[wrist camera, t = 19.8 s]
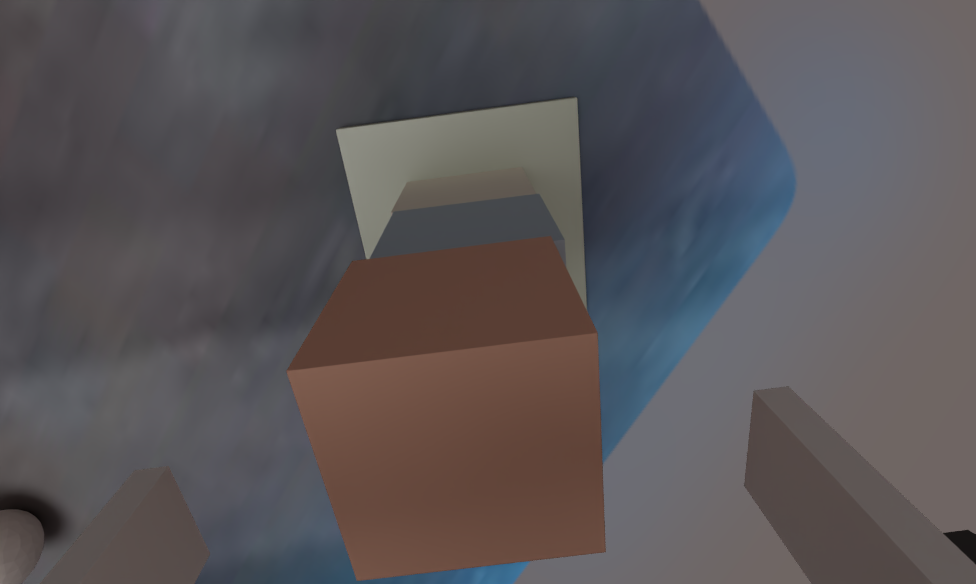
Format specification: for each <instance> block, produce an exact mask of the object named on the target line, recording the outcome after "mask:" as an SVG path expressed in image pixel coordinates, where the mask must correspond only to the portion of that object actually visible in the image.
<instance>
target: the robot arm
mask: <svg viewBox="0 0 976 584" xmlns="http://www.w3.org/2000/svg"><path fill="white" fill-rule="evenodd" d="M744 486H745V488H746V489H747V490H748V492H749V493H750V495H751V496H752V498H753V499H754V500H755V502H756V503H757V505H758V506H759V508H760V509H761V511H762V512H763V514H764V515H765V516H766V518H767V520H768V521H769V522H770V524H771V525H772V527H773V528H774V530H775V531H776V533H777V534H778V535H779V537H780V538H781V540H782V541H783V543H784V544H785V545H786V547H787V549H788V550H789V551H790V553H791V554H792V556H793V557H794V559H795V560H796V562H797V563H798V564H799V566H800V567H801V569H802V570H803V572H804V573H805V575H806V576H807V578H808V579H809V581H810V582H811V583H812V584H976V534H974V533H972V532H970V531H969V530H964V531H956V532H948V533H942V532H941V531H940V530H939V529H938V528H937V527H936V526H935V525H933V524H932V523H931V522H930V521H929V520H928V519H927V518H926V517H925V516H924V515H923V514H922V513H921V512H920V511H919V510H918V509H917V508H915V506H914V505H912V504H911V503H910V502H909V501H908V500H907V499H906V498H905V497H904V496H903V495H902V494H901V493H900V492H899V491H898V490H897V489H896V488H895V487H894V486H893V485H891V484H890V483H889V482H888V481H887V480H886V479H885V478H884V477H883V476H882V475H881V474H880V473H879V472H878V471H877V470H876V469H875V468H874V467H872V466H871V465H870V464H869V463H868V462H867V461H866V460H865V459H864V458H863V457H862V456H861V455H860V454H859V453H858V452H857V451H856V450H855V449H854V448H853V447H851V446H850V445H849V444H848V443H847V442H846V441H845V440H844V439H843V438H842V437H841V436H840V435H839V434H838V433H837V432H836V431H834V429H832V428H831V427H830V426H829V425H828V424H827V423H826V422H825V421H824V420H823V419H822V418H821V417H820V416H819V415H818V414H817V413H816V412H815V411H813V409H812V408H810V407H809V406H808V405H807V404H806V403H805V402H804V401H803V400H802V399H801V398H800V397H799V396H798V395H797V394H796V393H795V392H794V391H793V390H791V389H790V388H789V387H788V386H787V387H780V388H771V389H765V390H756V391H754V394H753V403H752V413H751V423H750V433H749V444H748V453H747V463H746V473H745V483H744ZM209 555H210V552H209V550H208V548H207V546H206V544H205V542H204V540H203V538H202V536H201V534H200V531H199V529H198V527H197V525H196V523H195V521H194V519H193V517H192V515H191V512H190V510H189V508H188V506H187V504H186V502H185V500H184V498H183V496H182V494H181V491H180V489H179V487H178V485H177V483H176V481H175V479H174V477H173V475H172V473H171V470H170V468H169V466H166V467H158V468H150V469H143V470H135V471H134V472H133V473H132V474H131V475H130V477H129V478H128V479H127V480H126V481H125V483H124V484H123V485H122V486H121V487H120V489H119V490H118V491H117V492H116V493H115V495H114V496H113V497H112V498H111V499H110V500H109V502H108V503H107V504H106V505H105V506H104V508H103V509H102V510H101V511H100V512H99V514H98V515H97V516H96V517H95V518H94V520H93V521H92V522H91V523H90V524H89V526H88V527H87V528H86V529H85V530H84V532H83V533H82V534H81V535H80V536H79V537H78V539H77V540H76V541H75V542H74V543H73V545H72V546H71V547H70V548H69V549H68V551H67V552H66V553H65V554H64V555H63V557H62V558H61V559H60V560H59V561H58V563H57V564H56V565H55V566H54V567H53V569H52V570H51V571H50V572H49V573H48V574H47V576H46V577H45V578H44V579H43V580H42V582H41V583H40V584H194V583H195V581H196V579H197V577H198V576H199V574H200V572H201V570H202V568H203V566H204V564H205V562H206V561H207V559H208V557H209Z"/></svg>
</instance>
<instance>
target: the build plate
mask: <svg viewBox="0 0 976 584" xmlns="http://www.w3.org/2000/svg"><path fill="white" fill-rule="evenodd" d="M336 133H337V137H338V141H339V145H340V150H341V154H342V158H343V162H344V167H345V171H346V175H347V179H348V184H349V188H350V192H351V196H352V201H353V205H354V209H355V213H356V217H357V222H358V226H359V230H360V234H361V239H362V243H363V247H364V251H365V256H366V259H370V257H371V255H372V253H373V251H374V249H375V247H376V245H377V243H378V241H379V239H380V237H381V235H382V233H383V231H384V229H385V227H386V226H387V224H388V222H389V220H390V218H391V211H392V209H393V207H394V206H395V204H396V202H397V200H398V198H399V196H400V194H401V192H402V190H403V189H404V187H405V185H406V183H407V182H411V181H418V180H426V179H433V178H441V177H449V176H456V175H464V174H471V173H479V172H487V171H494V170H502V169H509V168H517V167H522V168H523V170H524V172H525V173H526V175H527V177H528V179H529V181H530V183H531V185H532V187H533V189H534V190H535V192H536V194H540V196H541V198H542V199H543V201H544V203H545V205H546V207H547V208H548V210H549V212H550V214H551V216H552V217H553V219H554V221H555V223H556V225H557V226H558V228H559V230H560V232H561V234H562V236H563V237H564V239H565V252H566V268H567V270H568V273H569V275H570V277H571V279H572V281H573V283H574V285H575V287H576V289H577V291H578V293H579V295H580V297H581V299H582V302H583V304H584V306H585V308H586V310H587V300H586V278H585V257H584V235H583V214H582V192H581V171H580V149H579V127H578V106H577V98H576V97H569V98H561V99H554V100H546V101H539V102H531V103H524V104H516V105H508V106H501V107H493V108H486V109H478V110H471V111H463V112H456V113H448V114H441V115H433V116H425V117H418V118H410V119H403V120H395V121H388V122H380V123H373V124H365V125H357V126H350V127H342V128H338V129H336Z"/></svg>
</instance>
